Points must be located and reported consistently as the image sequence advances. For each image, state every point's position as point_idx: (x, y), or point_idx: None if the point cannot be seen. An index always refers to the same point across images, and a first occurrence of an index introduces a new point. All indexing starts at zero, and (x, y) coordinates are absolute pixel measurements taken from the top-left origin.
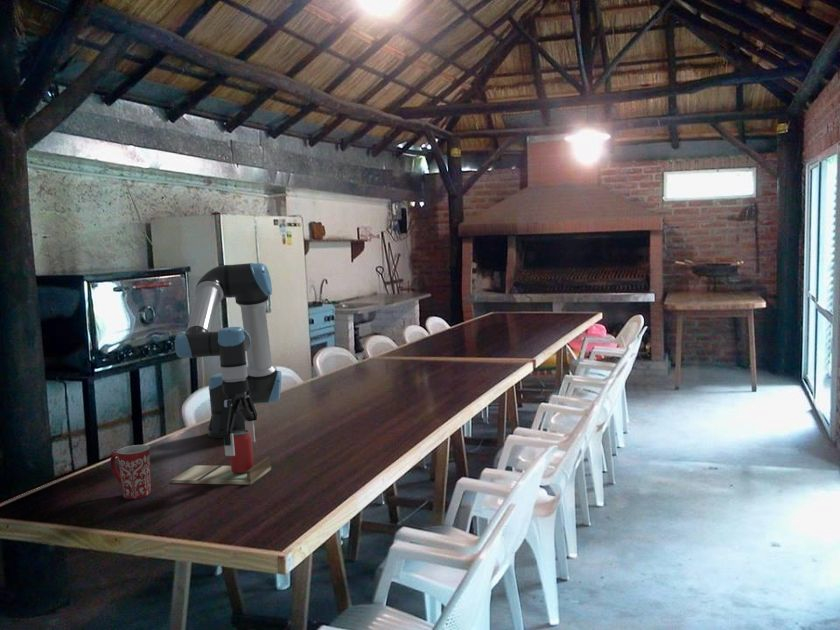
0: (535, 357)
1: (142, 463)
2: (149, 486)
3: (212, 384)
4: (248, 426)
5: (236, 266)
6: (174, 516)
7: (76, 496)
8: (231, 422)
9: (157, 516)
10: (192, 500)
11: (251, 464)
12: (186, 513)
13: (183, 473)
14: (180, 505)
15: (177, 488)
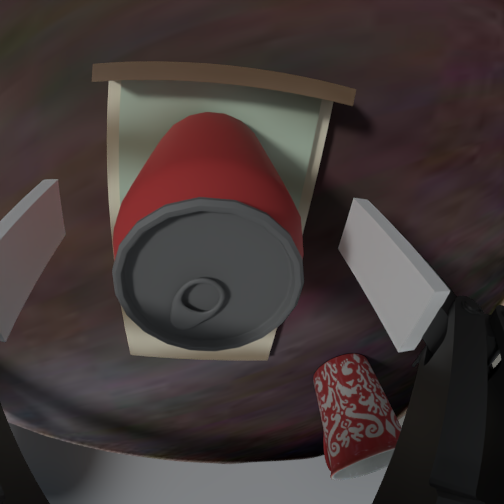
0: None
1: (392, 419)
2: (351, 368)
3: None
4: (10, 283)
5: None
6: (500, 236)
7: (314, 429)
8: (484, 382)
9: (485, 270)
10: (431, 240)
11: (222, 117)
12: (498, 218)
13: (209, 355)
14: (451, 253)
15: (317, 321)
